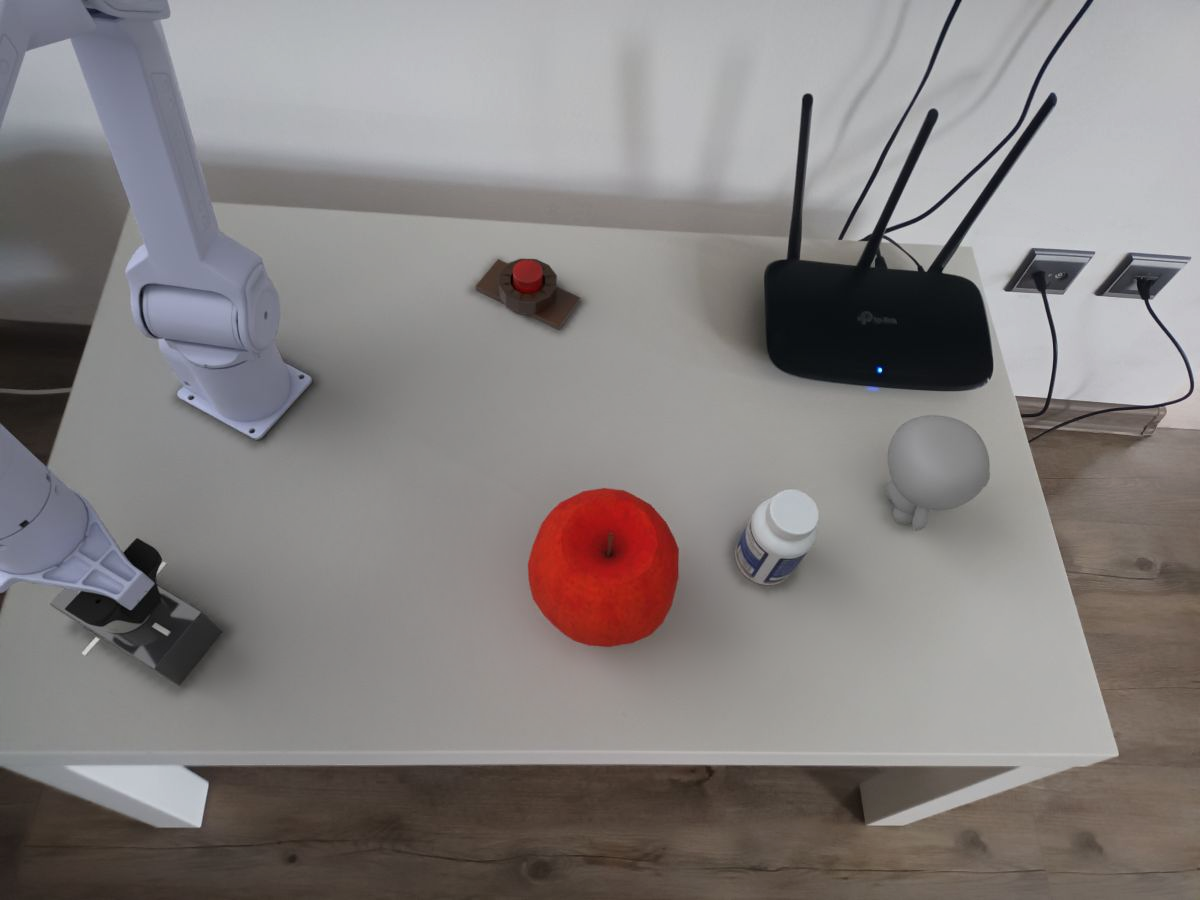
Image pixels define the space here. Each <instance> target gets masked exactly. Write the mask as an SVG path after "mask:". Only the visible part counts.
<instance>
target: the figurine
mask: <svg viewBox="0 0 1200 900" xmlns="http://www.w3.org/2000/svg"><path fill="white" fill-rule="evenodd" d="M886 455H887V456H886V460H887V468H888V472H889V476H890V481H889V483H888V484H887V486H886V488H885V495H886V498H887V499H888V500H889V501H891V503H892V505H893V506H894V507H895V508H894V509H893V512H892V515H893V516H892V517H893V520H894V521H895V523H898V524H900V525H906V524H909V523H912V528H911V530H912V531H921V530H923V529H924V528H925V527H926V526H927V523H928V520H929V515H930V511H935V512H936V511H937V512H938V511H941V512H942V511H951V510H954V509H957V508H960V507H963V506H964V505H966V504H968V503H970V502H971V501H973V499H975V498H976V497H977V496H978V495H980V493H981V492H982V491H983V489H984V488H985V487H986V486H987V485H988V483H989V481H990V478H991V472H990V471H991V470H990V457H989V456H990V455H989V452H988V449H987V446H986V444H985V442H984V440H983V439H982V437H981V435H980V434H979V432H978V431H977V430H976V429H975V428H973V427H972V426H971V425H969V424H968V423H966V422H964V421H962V420H960V419H957V418H954V417H951V416H945V415H938V414H936V415H935V414H933V415H932V414H930V415H929V414H928V415H921V416H917V417H914V418H911V419H909V420H907V421H906V422H904V423H903V424H901V425H900V426H899V427H898V428H897V429H896V431H894V433H893V435H892V436H891V439H890V441H889V444H888V447H887V453H886Z"/></svg>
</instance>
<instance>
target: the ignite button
mask: <svg viewBox="0 0 1200 900" xmlns="http://www.w3.org/2000/svg"><path fill="white" fill-rule="evenodd" d="M542 282H543V270H542V267H541V266H540V265H539V264H538V263H537V262H535V261H532V260H523V261H520V262H518V263H517V264H516V265H515V266H514V268H513V285H514V287H515V288H516V289H517V290H518V291H519V292H521V293H525V294H531V293H535V292H537V291H538V290H539V289H540V288H541V287H542Z"/></svg>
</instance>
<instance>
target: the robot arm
mask: <svg viewBox="0 0 1200 900" xmlns="http://www.w3.org/2000/svg"><path fill="white" fill-rule="evenodd" d="M170 17H171V9H170V5H169V1H168V0H0V130H1V128H2V126H3V123H4V120H5V116H6V113H7V111H8V107H9V104H10V101H11V98H12V95H13V92H14V89H15V86H16V83H17V80H18V76H19V74H20V71H21V68H22V65H23V62H24V59H25V55H26V52H29V51H31V50H32V51H33V50H34V49H38V48H42V47H46V46H48V45H52V44H56V43H60V42H63V41H66V40H69V39H70V42H71V45H72V48H73V51H74V54H75V56H76V59H77V62H78V64H79V67H80V70H81V73H82V76H83V78H84V81H85V84H86V86H87V87H86V88H87V89H88V93H89V95H90V97H91V101H92V103H93V106H94V109H95V111H96V115H97V117H98V121H99V122H100V125H101V128H102V130H103V131H102V132H103V133H104V137H105V138H106V142H107V144H108V147H109V151H110V152H111V155H112V158H113V161H114V163H115V167H116V169H117V172H118V175H119V177H120V180H121V181H120V182H121V184H122V186H123V189H124V191H125V194H126V197H127V199H128V202H129V205H130V209H131V210H132V213H133V217H134V219H135V222H136V225H137V227H138V230H139V233H140V236H141V238H142V241H143V243H142V244H141V245H140V246H139V247H138V248H137V249H136V250H135V252H134V253H133V254H132V256H131V258H130V259H129V260H128V263H127V265H126V268H125V270H124V274H125V276H126V279H127V282H128V287H129V291H130V310H131V315H132V318H133V320H134V322H135V324H136V327H137V328H138V330H139V331H140V333H141V334H142V335H144V337H146V338H148V339H152V340H157V343H158V349H159V351H160V353H161V355H162V356H163V358H164V359H165V361H166V363H167V364H168V365H169V367H170V368H171V370H172V371H173V373H174V374H175V376H176V378H177V380H178V381H179V383H180V384H181V386H182V387H181V388H180V389H179V390H178V391H177V393H176V395H177V398H178V399H180V400H181V401H183V402H185V403H187V404H189V405H190V406H192V407H194V408H196V409H198V411H199V410H200V411H201V412H203V413H204V414H206V415H208V416H210V417H212V418H214V419H216V420H218V421H220V422H221V423H223V424H225V425H227V426H229V427H230V428H232V429H233V430H236V431H238V432H240V434H243V435H245V436H247V437H249V438H250V439H252V440H255V441H259V440H261V439H263V437H264V436H265V435H266V434H267V433H268V432H269V431H270V430H271V428H272V427H273V426H274V425H275V424H276V423H277V422H278V421H279V420H280V418H282V416H283V415H284V414H285V413H286V411H287V410H288V409H289V408H290V407H291V406H292V405H293V404H294V403H295V401H297V400H298V398H299V397H300V396H301V395H302V394H303V393H304V392H305V391H306V389H307V388H308V387H309V386H310V385H311V384H312V382H313V380H312V377H311V376H310V375H309V374H307V373H305V372H303V371H301V370H300V369H298V368H295V367H293V366H292V365H290V364H288V363H286V362H284V360H283V358H282V356H281V354H280V351H279V349H278V347H277V344H276V342H275V339H276V336H277V333H278V331H279V327H280V321H281V300H280V299H281V298H280V295H279V292H278V289H277V288H276V286H275V285H274V283H273V281H272V280H271V278H270V276H268V273H267V271H266V267H265V265H264V260H263V257H262V256H261V255H259V254H258V253H257V252H255V251H254V250H252V249H250V248H249V247H247V246H245V245H244V244H242V243H240V242H239V241H238V240H235V239H234V238H232V237H231V236H230V235H227V234H226V233H225V232H223V231H221V229H220V228H219V224H218V221H217V217H216V214H215V211H214V207H213V204H212V203H213V202H212V199H211V196H210V192H209V189H208V186H207V181H206V178H205V174H204V170H203V167H202V164H201V160H200V157H199V153H198V150H197V146H196V143H195V139H194V135H193V131H192V128H191V125H190V121H189V117H188V114H187V110H186V107H185V103H184V100H183V95H182V92H181V88H180V85H179V81H178V78H177V75H176V74H177V73H176V71H175V67H174V64H173V59H172V57H171V52H170V50H169V46H168V41H167V39H166V34H165V31H164V27H163V24H162V20H167V19H169V18H170ZM162 562H163V558H162V556H161V553H159V551H158V550H157V548H155V547H153V545H150V544H149V543H147V542H145V541H143V540H141V539H140V538H138V537H136V538H135V539H134V540H133V541H132V542H131V543H130V544H129V545H128V547H126V548H125V550H124V551H123V549H121V547H120V545H119V544H118V542H117V541H116V540H115V539H114V537H113V535H112V533H111V532H110V530H109V529H108V528H107V526H106V524H105V523H104V522H103V520H102V519H101V517H100V516H99V514H98V512H97V511H96V510H95V508H94V507H93V505H92V504H91V503H90V501H89V500H88V499H87V498H86V497H84V495H82V494H81V493H80V492H78V491H77V490H76V489H73V488H71V487H69V486H67V485H66V483H64V482H63V481H62V480H61V478H59V477H58V476H57V474H55V473H54V472H53V471H52V470H51V469H50V468H49V467H47V465H46V464H44V463H43V462H42V461H41V460H40V459H38V458H37V456H35V454H33V453H32V452H31V451H30V450H29V449H28V448H27V447H26V446H25V445H24V444H23V443H22V442H21V441H20V440H19V439H17V438H16V437H15V435H13V434H12V433H11V432H10V431H9V430H8V429H7V428H6V427H5V426H4V425H3V424H2V423H1V422H0V594H3V593H5V592H6V591H8V590H9V589H10V588H11V587H12V586H13V585H14V584H17V583H27V584H35V585H41V586H47V587H52V588H53V587H54V588H58V589H59V588H60V589H64V588H66V589H72V590H78V591H81V592H80V593H79V594H78V595H77V596H76V597H75V598H74V599H73V600H72V601H71V602H70V603H69V605H68V606H67V607H66V608H65V610H66V611H68V612H69V613H71V614H73V615H74V616H76V617H77V618H79V619H81V620H82V621H84V622H86V623H87V624H90V625H93V626H98V627H103V626H105V625H107V624H109V623H111V622H113V621H124V622H128V623H134V624H141V623H143V622H144V621H145V620H146V619H147V617H148V616H149V615H150V614H151V613H152V612H153V611H154V609H155V608H156V607H157V606H158V605H159V604H160V602H161V596H160V593H159V589H158V586H157V585H158V583H157V577H156V575H157V571H158V569H159V566H160V565H161V563H162Z"/></svg>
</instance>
